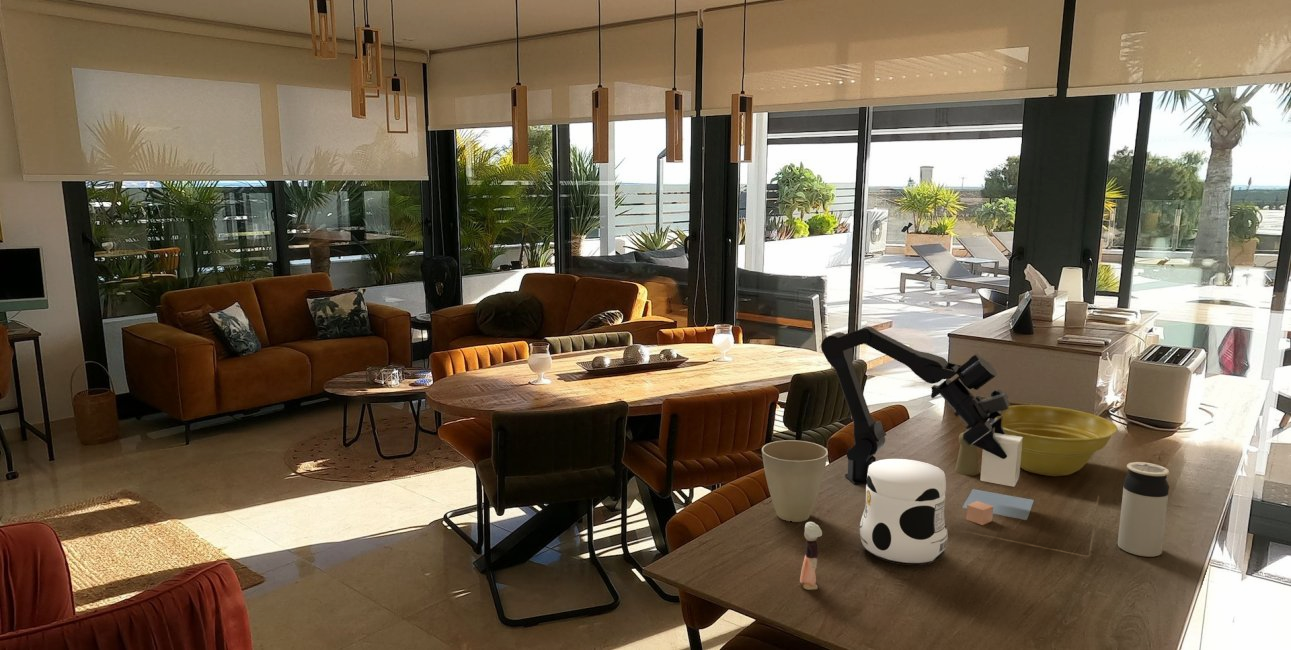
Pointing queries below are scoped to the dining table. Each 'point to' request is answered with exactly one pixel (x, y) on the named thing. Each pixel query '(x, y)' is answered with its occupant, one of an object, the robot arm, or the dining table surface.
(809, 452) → the plant pot
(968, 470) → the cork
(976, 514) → the block
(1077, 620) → the dining table surface
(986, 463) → the white rectangular block
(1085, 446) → the planter bowl
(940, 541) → the milk container
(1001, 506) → the mat
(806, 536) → the grandmother figurine
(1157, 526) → the travel mug
